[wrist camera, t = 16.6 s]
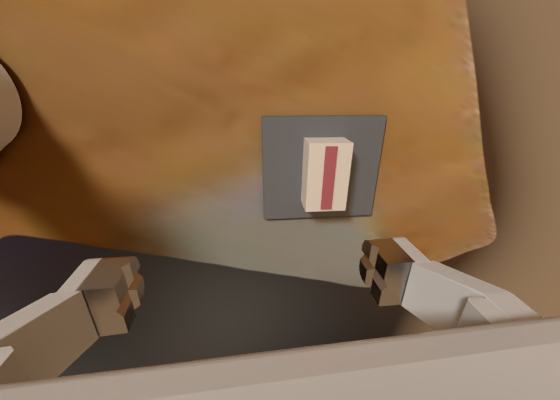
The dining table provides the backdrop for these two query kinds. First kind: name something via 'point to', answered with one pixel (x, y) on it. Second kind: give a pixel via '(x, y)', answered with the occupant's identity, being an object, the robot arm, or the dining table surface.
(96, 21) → the dining table surface
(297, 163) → the mat
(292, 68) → the dining table surface
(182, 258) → the dining table surface
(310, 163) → the card deck
